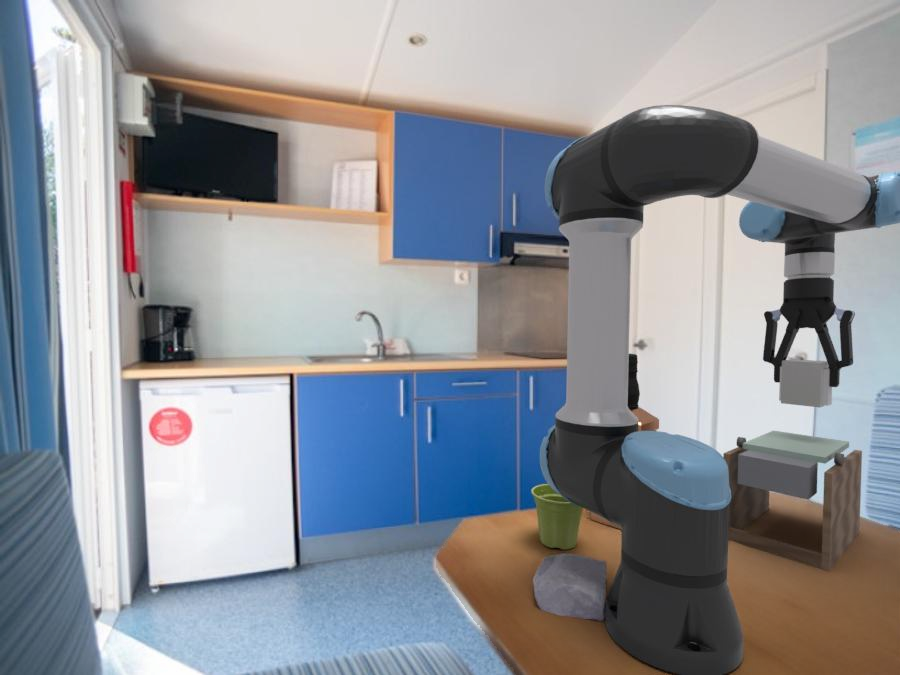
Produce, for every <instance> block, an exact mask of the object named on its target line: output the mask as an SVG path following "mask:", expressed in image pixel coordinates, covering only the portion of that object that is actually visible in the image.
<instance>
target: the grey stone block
mask: <svg viewBox="0 0 900 675" xmlns="http://www.w3.org/2000/svg"><path fill="white" fill-rule="evenodd" d="M828 367H829V365H828V362H827V360H812V359H811V360H809V359H793V358H792V359H786V360H783V361H782V380H781V401H780V404H785V405H793V406H794V405H795V406H803V407H812V408H813V407H814V408H822V407H825V406H826V405H823V379H824V369H827V368H828ZM828 369H829V368H828Z"/></svg>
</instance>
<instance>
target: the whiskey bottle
mask: <svg viewBox="0 0 900 675" xmlns="http://www.w3.org/2000/svg"><path fill="white" fill-rule="evenodd" d="M638 363H639V361H638V354H636V353H629V364H628V408H629V410H630V411H631V412H632V413H633V414H634V415H635V416H636V417H637V418H638V431H658V430H659V429H660V419H659V418H658V417H656V416H654V415H653V414H651V413H650V412H648V411H647V410H645V409H643V408H642V407H640V405H639V402H640V401H639V400H640V394H641V393H640V392H641V391H640V385H639V382H638V372H639V371H638ZM588 518H590V520H591V521H594V522H597V523H600V524H602V525H606V526H609V527H612V528H615V529H618V530H620V531H622V529H621V527H619V526H617V525H616V524H614V523H612V522H610V521H608V520H606V519H604V518H602V517H600V516H598V515H596V514H594V513H592V512H590V511H589V517H588Z"/></svg>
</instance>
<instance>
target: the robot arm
mask: <svg viewBox="0 0 900 675" xmlns="http://www.w3.org/2000/svg"><path fill="white" fill-rule="evenodd" d="M727 195H728V196H731V197H735V198H738V199H742V200H746V201H748V202H747V203H746V204H745V205H744V207H743V208H742V210H741V211H740V215H739V217H738V218H739V220H738V221H739V222H738V224H739V225H738V226H739V229H740V231H741V233H742V234H743V235H744V236H745V237H747V238H748V239H751V240H755V241H758V242H760V243H766V242H767V243H777V244H784V263H783V264H784V266H783V276H784V277H785V278H787V279H785V281H783V296H782V298H783V300H782V301H783V302H782V304H781V306H780V308H779V309H775V310H771V311H769V310H768V311H767V310H766V311H765V312H764V313H763V316H764V319H765V323H766V325H765V326H766V327H765V336H764V345H763V354H762V355H763V356H762V360H763V362H765V363H768V364H772V366H773V381H774V383H779V393H778V394H779V395H778V396H779V397H778V398H779V399H778V400H779V401H780V402H781V380H782V361H783V360H787V358H788V356H789V353H790V351H791V348H792V346H793V343H794V341H795V339H796V337H797V336H796V335H797V334H798V333H799V331H800V329H805V328H806V329H807V328H808V329H814V331H815V333H816V334H817V337H818V339H819V343H820V345H821V348H822V350H823V354H824V356H825V359H826V360H825V361H827V362H828V365H829V367H828V368H829V369H828V368H827V369H824V379H823V405H825V406H827V407H828V406H831V405H832V402H833V388H838V387H839V386H840V379H841V378H840V377H841V376H840V375H841V374H840V372H841V369H842V368H845V367H849V366H852V365H853V364H854V354H853V353H854V352H853V351H854V350H853V331H852V323H853V320H854V318H855V316H856V313H855V311H854V310H850V309H849V310H846V309H841V308H837V306H836V304H835V302H834V297H835V296H834V294H835V293H834V292H835V291H834V289H835V280H834V279H833V278H831V276H833V275H835V261H836V260H835V258H836V257H835V255H836V254H835V251H836V250H835V242H836V234H838V233H839V234H840V233H846V232H847V233H848V232H854V231H858V230H859V231H860V230H868V229H874V228H876V229H880V228H882V227H887V226H890V225H896V224H900V171H893V172H892V171H891V172H887V173H883V172H882V173H879V174H876V175H873V176H866V175H863V174H861V173H858V172H855V171H853V170H850V169H848V168H845V167H842V166H839V165H837V164H835V163H832V162H829V161H827V160H824V159H822V158H819V157H816V156H814V155H811V154H808V153H805V152H803V151H800V150H797V149H795V148H792V147H790V146H787V145H784V144H782V143H779V142H776V141H774V140H771V139H769V138H766V137H763V136H761V135H759V132H758V130H757V129H756V127H755V126H754V125H753V124H752V123H751V122H750V121H748V120H746V119H743V118H740V117H738V116H734V115H731V114H728V113H726V112H723V111H719V110H715V109H710V108H705V107H699V106H691V105H680V104H679V105H678V104H677V105H676V104H664V105H663V104H661V105H653V106H648V107H642V108H639V109H637V110H634V111H632V112H630V113H628V114H626V115H623V116H622V118H619V119H617V120H615V121H614V122H612V123H610V124H608V125H606V126H604V127H601V128H600V129H598V130H596V131H595V132H593V133H590V134H589V135H585V136H582V137H580V138H578V139H576V140H574V141H573V142H571V143H569V145H568V146H567V147H566V148H564V149H562V150H561V151H559V153H558V154H556V156H555V157H554V159H552V160H551V163H550V164H549V166H548V169H547V171H546V174H545V180H544V196H545V201H546V204H547V207H548V208H550V209H551V213H552V214H553V217H555V218H556V219H557V220H558V231H559V232H560V233H561V234H562V235H563V236H564V237H565V238H566V239H567V240H568V244H569V246H568V287H567V288H568V293H567V294H568V296H567V298H568V299H567V337H566V339H567V342H566V343H567V344H566V390H565V392H566V397H565V399H566V400H565V403H564V405H563V406H562V407H561V408H560V409H559V410H558V411H557V412H556V413H555V420H554V425H552V426H551V427H550V428H549V429H548V431H547V433H548V434H547V435H546V436H544V437H543V439H542V442H541V445H540V447H539V464H540V469H541V473H542V476H543V478H544V480H545V481H546V484H549V486H550V487H551V488H552V489H553V490H554V491H555V492H557V493H558V494H559V495H561V496H562V497H564V498H565V499H566V500H567V501H569V502H570V503H572V504H574V505H576V506H580V507H582V508H583V509H585V510H587V511H588V512H589V513H590V512H592V513H594V514H596V515H598V516H600V517H602V518H604V519H606V520H608V521H610V522H612V523H614V524H616V525H617V526H619V527H621V529H622V530H621V529H620V530H621V534H620V535H621V536H620V537H621V540H620V541H621V544H620V546H621V547H620V548H621V549H620V552H621V554H620V563H619V565H618V567H617V569H616V573H615V576H614V577H613V578H614V579H613V581H612V583H611V585H610V588H609V591H608V593H607V595H606V605H605V618H604V622H605V627H606V629H607V632H608V633H609V635H610V637H611V638H612V639H613V641H615V643H616V644H617V645H618V646H620V648H621V649H622V650H624V651H626V652H627V653H628V654H629V655H631V656H633V657H634V658H636V659H638V660H640V661H641V662H644V663H645V664H647V665H649V666H653V667H654V668H656V669H657V668H658V669H660V670H663V671H665V672H669V673H673V674H676V675H677V674H678V675H726V674H728V673H730V672H732V671H734V670H736V669H737V668H738V667H739V666H740V665H741V662H742V661H743V658H744V633H743V629H742V625H741V622H740V619H739V616H738V612H737V610H736V606H735V602H734V600H733V597H732V594H731V591H730V588H729V585H728V557H729V556H728V554H729V553H728V552H729V540H728V530H729V503H730V501H731V490H730V486H729V470H728V466H727V464H726V461H725V459H724V458H723V454H721V453H720V452H719V451H718V450H716V449H715V448H714V447H712V446H710V445H709V444H706V443H704V442H702V441H700V440H698V439H694V438H691V437H688V436H685V435H680V434H671V433H668V432H665V431H660V430H659V431H658V430H656V431H638V418H637V417H636V416H635V415H634V414H633V413H632V412H631V411H630V410H629V408H628V364H629V354H630V319H631V318H630V314H631V313H630V311H631V310H630V309H631V308H630V307H631V304H630V303H631V273H632V272H631V271H632V270H631V268H632V267H631V266H632V265H631V264H632V239H633V238H634V236H636V235H637V234H638V233H639V232H640V231H641V230H642V229H643V228H644V207H645V206H647V205H651V204H654V203H657V202H660V201H661V202H662V201H664V200H667V199H672V198H677V197H684V196H700V197H702V198H705V199H706V198H708V199H718V198H722V197H724V196H727ZM834 315H835V316H836V320H837V321H838V322H839V336H840V338H839V339H840V340H839V341H840V355H841V356H840V357H841V360H839V357H838V355H837V352H836V348H835V346H834V344H833V341H832V337H831V334H830V332H829V328H828V324H827V323H828V321H829V320H830V319H831V318H832V317H833V316H834ZM781 316H783V317H784V318H785V320H786V321H787V326H786V329H785V333H784V335H783V337H782V340H781V343H780V345H779V347H778V350H777V353H775V352H776V344H777V342H776V341H777V333H778V322H779V321H780V319H781ZM775 354H776V355H775Z"/></svg>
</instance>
